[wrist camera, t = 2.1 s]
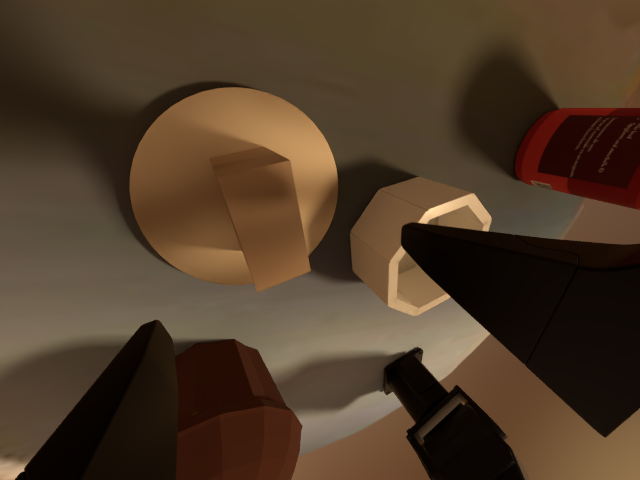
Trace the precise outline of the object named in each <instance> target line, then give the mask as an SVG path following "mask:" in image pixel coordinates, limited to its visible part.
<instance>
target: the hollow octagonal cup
mask: <svg viewBox="0 0 640 480" xmlns="http://www.w3.org/2000/svg"><path fill="white" fill-rule="evenodd" d="M410 222H415V223H424V224H432V225H440V226H448V227H456V228H464V229H472V230H480V231H488V230H489V227H490V223H491V216H490V215H489V214H488V212H487V211H486V210H485V208H484V207H483V205H482V204H481V203H480V201H479V200H478V199H477V197H476V196H475V195H474V193H471V192H468V191H464V190H461V189H458V188H454V187H451V186H448V185H444V184H441V183H438V182H434V181H431V180H428V179H425V178H421V177H416V178H413V179H409V180H406V181H403V182H400V183H397V184H394V185H390V186H387V187H384V188H381V189H380V190H378V191H377V193H376V194H375V196H374V197H373V199H372V200H371V202H370V203H369V204H368V206H367V207H366V209H365V210H364V212H363V213H362V215H361V216H360V218H359V219H358V221H357V222H356V224H355V225H354V226H353V228H352V229H351V232H350V243H351V257H352V270H353V272H354V273H355V274H356V275H357V276H358V277H359V278H360V279H361V280H362V281H363V282H364V283H365V284H366V285H367V286H368V287H369V288H370V289H371V290H372V291H373V292H374V293H375V294H376V295H377V296H378V297H379V298H380V299H381V300H382V301H383V302H384V303H385V304H386V305H387V306H388V307H391V308H394V309H396V310H399V311H402V312H404V313H407V314H410V315H412V316H417V315H419V314H421V313H422V312H424V311H426V310H428V309H430V308H432V307H434V306H435V305H437V304H439V303H441V302H443V301H445V300H447V299H448V298H450V296H449V295H448V294H447V293H446V292H445V291H444V290H443V289H442V288H441V287H439V286H438V285H437V284H436V283H435V282H434V281H433V280H432V279H431V278H430V277H429V276H428V275H427V274H426V273H425V272H424V271H423V270H422V269H421V268H420V267H419V266H418V265H417V264H416V262H415V261H414V260H413V259H412V258H411V257H410V256H409V255H408V253H407V252H406V251H405V250H404V249H403V248H402V246H401V228H402V226H403V225H405V224H407V223H410Z"/></svg>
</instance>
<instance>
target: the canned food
mask: <svg viewBox="0 0 640 480" xmlns="http://www.w3.org/2000/svg"><path fill="white" fill-rule="evenodd" d="M515 173H516V176H517V177H518V179H520V180H521V181H523V182H525V183H526V184H529V185H534V186H538V187H542V188H547V189H551V190H555V191H560V192H564V193H568V194H573V195H577V196H581V197H586V198H590V199H595V200H599V201H603V202H608V203H612V204H616V205H620V206H624V207H629V208H633V209H638V210H640V108H562V109H558V110H554V111H550V112H548V113H546V114H545V115H543V116H542V117H541V118H539V119H538V120H537V121H536V122H535V123H534V124H533V126H532V127H531V128H530V129H529V131H528V132H527V134H526V135H525V137H524V139H523V141H522V143H521V145H520V147H519V150H518V152H517V156H516V160H515Z"/></svg>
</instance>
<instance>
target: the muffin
mask: <svg viewBox="0 0 640 480" xmlns="http://www.w3.org/2000/svg"><path fill="white" fill-rule="evenodd" d="M175 365H176V374H177V384H178V429H177V470H176V480H291V479H292V475H293V472H294V469H295V466H296V462H297V458H298V455H299V451H300V439H301V430H302V425H301V423H300V422H299V420H298V419H297V417H296V415H295V414H294V412H293V411H292V410H291V409H289V408H288V407H287V406H286V405H285V403H284V401H283V399H282V397H281V395H280V393H279V391H278V389H277V387H276V385H275V383H274V381H273V379H272V377H271V375H270V373H269V371H268V369H267V367H266V365H265V364H264V362H263V360H262V358H261V356H260V354H259V352H258V350H257V349H254V348H251V347H248V346H245V345H243V344H242V343H240V342H238V341H237V340H235V339H231V340H226V341H220V342H213V343H196V344H195V345H193V346H192V347H190V348H189V349H187V350H186V351H184V352H183V353H181V354H180V355H178V356H176V357H175Z"/></svg>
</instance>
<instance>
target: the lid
mask: <svg viewBox="0 0 640 480" xmlns="http://www.w3.org/2000/svg"><path fill="white" fill-rule="evenodd" d="M130 197H131V204H132V208H133V212H134V215H135V218H136V221H137V223H138V225H139V227H140V229H141V231H142V233H143V235H144V236H145V238H146V239H147V241H148V242H149V243H150V245H151V246H152V247H153V248H154V249H155V250H156V251H157V253H158V254H159V255H160V256H161V257H163V258H164V259H165V260H166V261H167V262H169V263H170V264H171V265H173V266H174V267H176V268H177V269H179V270H181V271H182V272H184V273H186V274H189V275H191V276H193V277H195V278H198V279H201V280H204V281H208V282H213V283H218V284H228V285H242V284H251V283H254V284H255V287H256V289H257V292H259V291H262V290H264V289H267V288H269V287H272V286H274V285H277V284H279V283H282V282H284V281H287V280H289V279H292V278H294V277H297V276H299V275H302V274H304V273H307V272H309V271H311V269H310V264H309V258H308V256H309V255H310V254H311V252H312V251H313V250H314V249H315V248H316V247H317V246H318V244H319V243H320V242H321V240H322V239H323V237H324V235H325V234H326V232H327V230H328V228H329V226H330V224H331V222H332V219H333V216H334V213H335V209H336V204H337V198H338V176H337V169H336V165H335V161H334V158H333V155H332V152H331V150H330V147H329V145H328V143H327V142H326V140H325V138H324V136H323V135H322V133H321V132H320V131H319V129H318V128H317V127H316V125H315V124H314V123H313V122H312V121H311V120H310V119H309V118H308V117H307V116H306V115H305V114H304V113H303V112H301V111H300V110H299V109H298V108H296V107H295V106H294V105H292V104H290V103H288V102H287V101H285V100H283V99H281V98H279V97H277V96H274V95H272V94H269V93H267V92H263V91H258V90H254V89H248V88H238V87H231V88H217V89H212V90H208V91H203V92H200V93H197V94H195V95H192V96H189V97H187V98H185V99H183V100H181V101H180V102H178V103H176V104H175V105H173V106H171V107H170V108H169V109H168V110H166V111H165V112H164V113H163V114H162V115H160V116H159V117H158V118H157V119H156V121H155V122H154V123H153V124H152V125H151V126H150V127H149V129H148V130H147V131H146V133H145V135H144V136H143V138H142V140H141V141H140V143H139V145H138V148H137V150H136V153H135V156H134V158H133V162H132V167H131V172H130Z"/></svg>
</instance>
